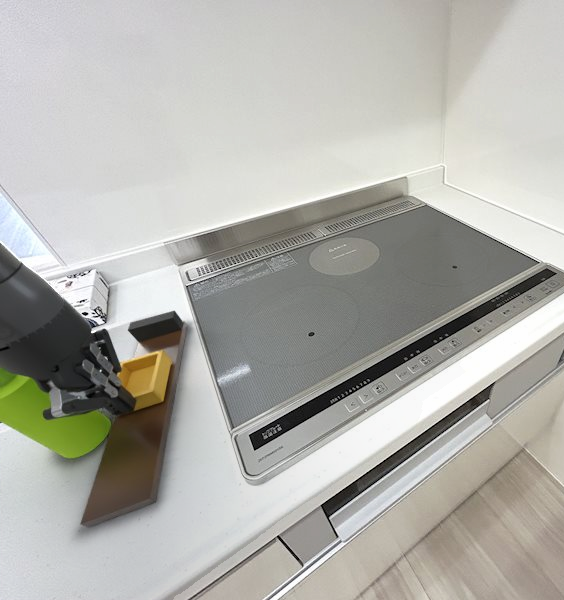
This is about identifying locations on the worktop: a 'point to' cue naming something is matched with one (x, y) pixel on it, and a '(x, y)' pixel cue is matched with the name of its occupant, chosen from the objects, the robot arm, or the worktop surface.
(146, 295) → the worktop surface
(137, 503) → the board
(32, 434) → the soap dispenser
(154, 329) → the end stop
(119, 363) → the robot arm
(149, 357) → the tray
